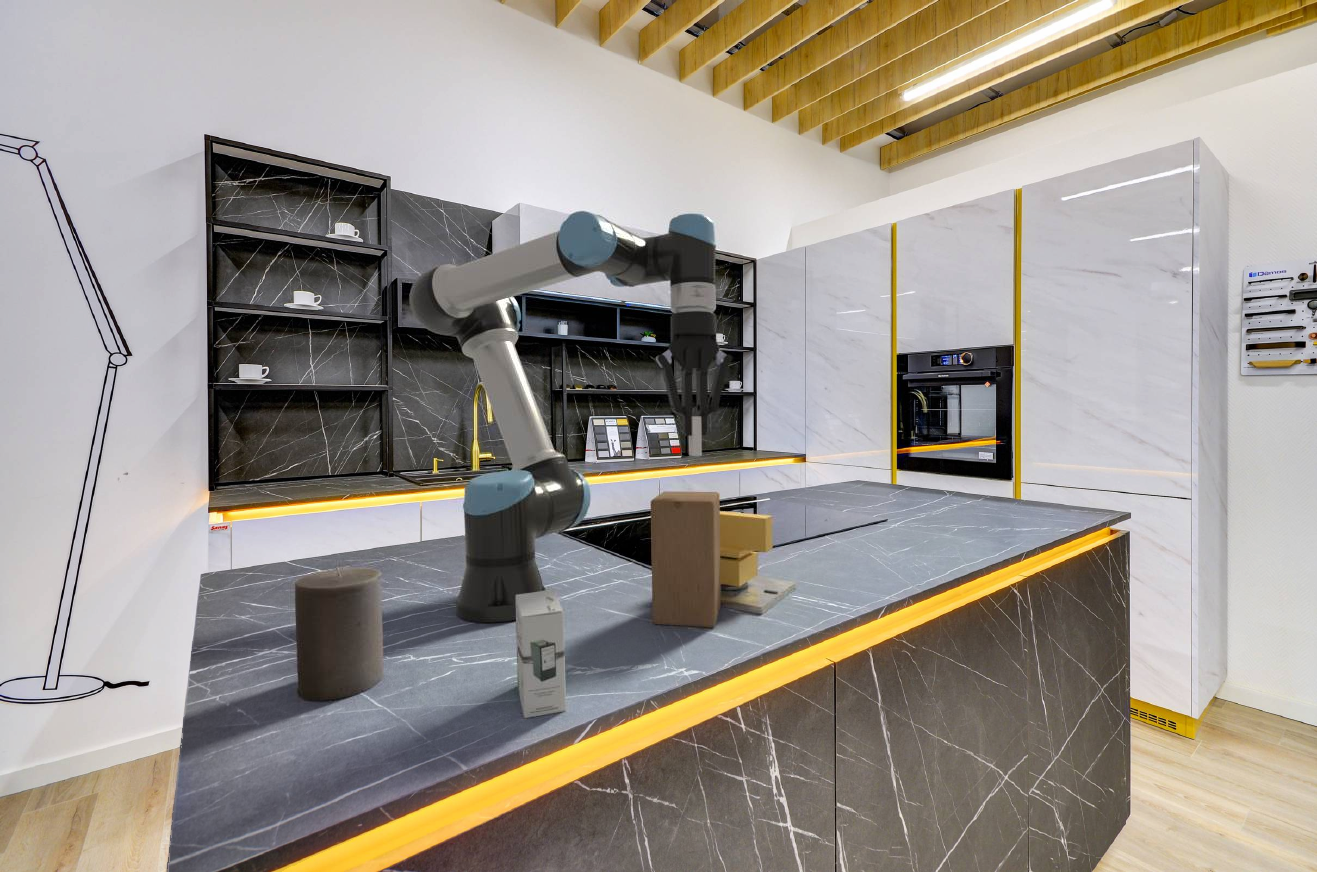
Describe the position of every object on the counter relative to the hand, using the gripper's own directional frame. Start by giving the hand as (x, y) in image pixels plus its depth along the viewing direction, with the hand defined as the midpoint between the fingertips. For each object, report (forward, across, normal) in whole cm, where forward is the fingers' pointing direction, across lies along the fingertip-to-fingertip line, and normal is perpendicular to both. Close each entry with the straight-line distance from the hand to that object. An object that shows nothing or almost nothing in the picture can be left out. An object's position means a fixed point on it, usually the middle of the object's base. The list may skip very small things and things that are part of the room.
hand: (695, 455), depth 96 cm
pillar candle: (+27, -51, -14) cm, 59 cm away
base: (+26, +8, +8) cm, 29 cm away
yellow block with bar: (+24, +8, +9) cm, 27 cm away
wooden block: (+27, -2, -2) cm, 27 cm away
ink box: (+27, -26, -24) cm, 44 cm away
